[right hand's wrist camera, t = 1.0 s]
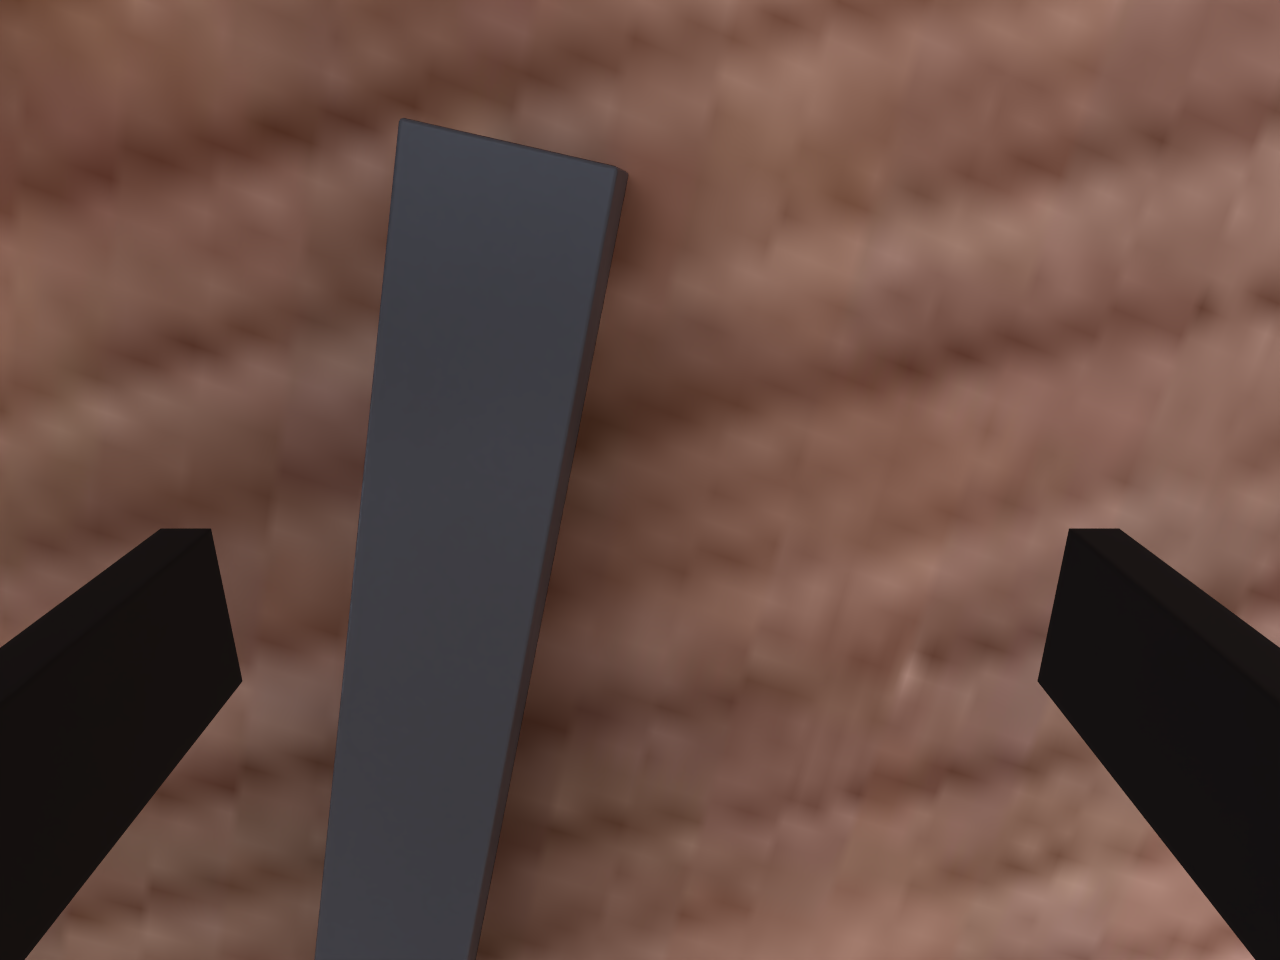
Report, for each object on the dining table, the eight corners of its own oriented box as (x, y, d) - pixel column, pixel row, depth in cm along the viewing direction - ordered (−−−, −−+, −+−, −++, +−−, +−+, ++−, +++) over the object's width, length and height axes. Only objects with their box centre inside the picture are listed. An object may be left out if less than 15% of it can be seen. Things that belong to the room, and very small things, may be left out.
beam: (479, 138, 25) (397, 116, 17) (629, 172, 25) (618, 166, 17) (335, 1220, 44) (264, 1454, 36) (422, 1233, 44) (371, 1467, 36)
